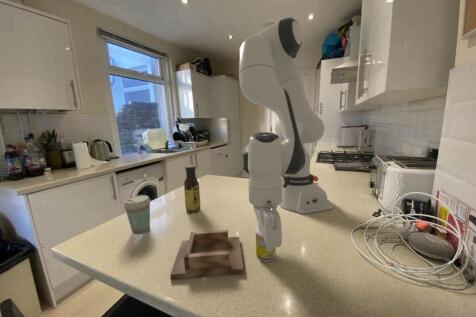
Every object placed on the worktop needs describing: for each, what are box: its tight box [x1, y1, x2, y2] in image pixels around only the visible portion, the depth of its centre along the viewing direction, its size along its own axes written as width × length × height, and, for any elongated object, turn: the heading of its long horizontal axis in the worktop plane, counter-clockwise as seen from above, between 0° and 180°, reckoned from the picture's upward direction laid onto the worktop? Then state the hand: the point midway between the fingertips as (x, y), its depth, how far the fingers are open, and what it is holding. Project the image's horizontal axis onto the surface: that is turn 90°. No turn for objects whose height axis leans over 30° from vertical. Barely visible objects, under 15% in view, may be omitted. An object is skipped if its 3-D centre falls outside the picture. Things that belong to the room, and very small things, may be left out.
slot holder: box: [169, 229, 244, 281], centre depth 56 cm, size 18×14×5 cm
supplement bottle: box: [255, 223, 277, 262], centre depth 56 cm, size 6×6×10 cm
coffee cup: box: [123, 194, 151, 235], centre depth 72 cm, size 8×9×12 cm
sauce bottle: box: [183, 164, 201, 215], centre depth 85 cm, size 7×6×20 cm
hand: (265, 241), depth 56 cm, fingers open, 6 cm apart
